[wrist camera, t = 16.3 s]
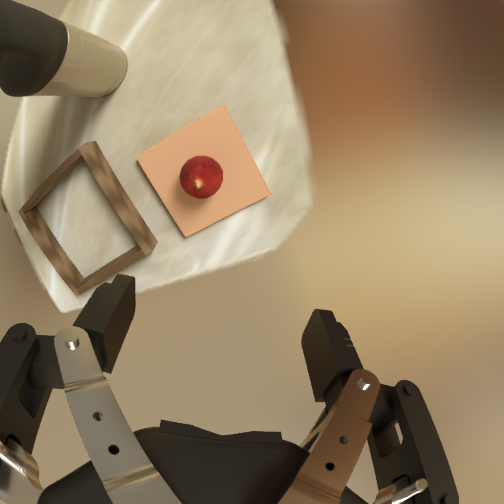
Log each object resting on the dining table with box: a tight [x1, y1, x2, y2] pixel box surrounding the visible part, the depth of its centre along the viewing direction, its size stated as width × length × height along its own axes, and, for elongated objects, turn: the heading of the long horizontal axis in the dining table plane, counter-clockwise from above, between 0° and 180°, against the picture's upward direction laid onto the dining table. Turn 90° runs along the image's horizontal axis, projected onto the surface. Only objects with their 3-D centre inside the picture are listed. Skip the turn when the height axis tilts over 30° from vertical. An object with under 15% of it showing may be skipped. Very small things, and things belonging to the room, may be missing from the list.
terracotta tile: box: [136, 106, 271, 237], centre depth 39 cm, size 15×15×2 cm
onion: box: [179, 156, 223, 199], centre depth 35 cm, size 6×6×8 cm
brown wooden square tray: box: [19, 141, 158, 296], centre depth 40 cm, size 20×20×4 cm
